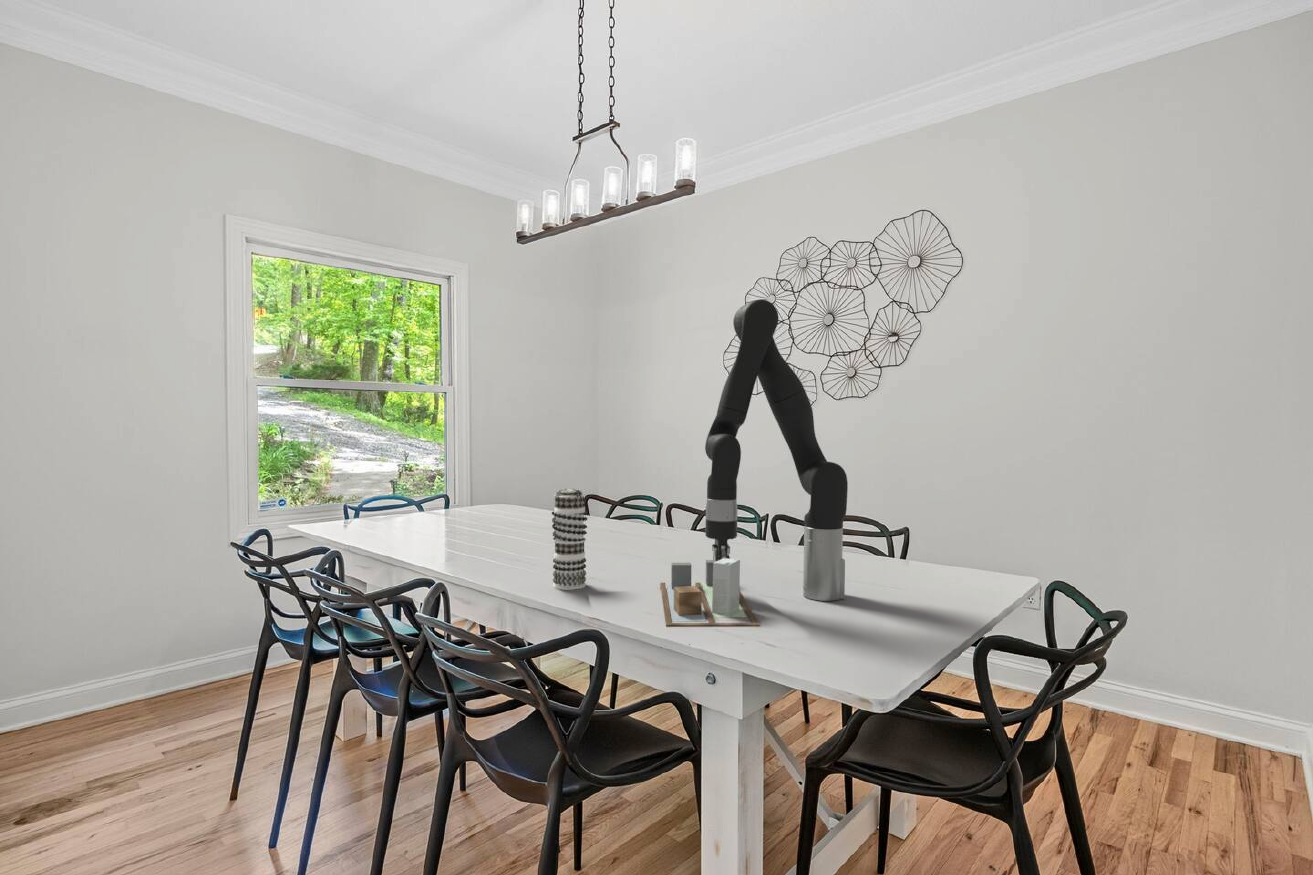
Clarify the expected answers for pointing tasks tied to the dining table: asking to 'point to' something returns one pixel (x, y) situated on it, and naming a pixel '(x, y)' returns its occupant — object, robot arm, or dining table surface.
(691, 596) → the walnut cube
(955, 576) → the dining table surface
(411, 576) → the dining table surface
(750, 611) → the lane rails
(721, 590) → the skincare box
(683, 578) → the strip
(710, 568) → the strip
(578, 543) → the decorative candle
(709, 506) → the robot arm
